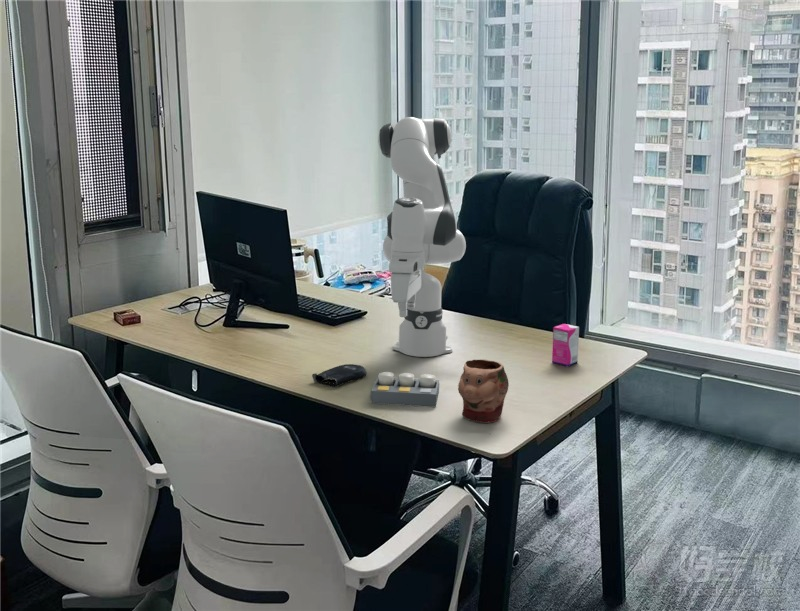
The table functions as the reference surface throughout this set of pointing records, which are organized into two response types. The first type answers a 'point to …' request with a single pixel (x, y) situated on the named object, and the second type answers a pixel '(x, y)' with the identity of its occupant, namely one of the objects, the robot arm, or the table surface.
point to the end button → (386, 378)
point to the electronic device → (340, 374)
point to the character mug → (483, 390)
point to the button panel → (405, 394)
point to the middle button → (406, 379)
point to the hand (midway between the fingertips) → (407, 312)
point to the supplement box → (565, 344)
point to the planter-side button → (427, 381)
